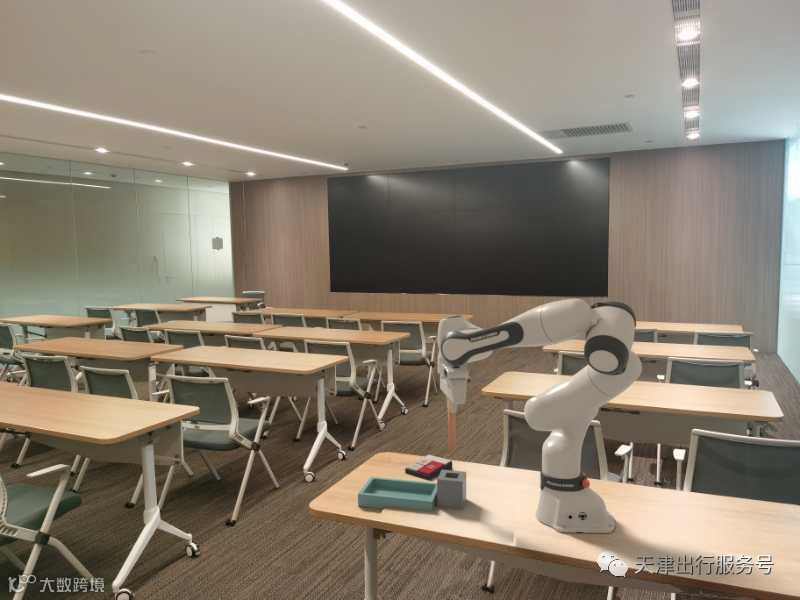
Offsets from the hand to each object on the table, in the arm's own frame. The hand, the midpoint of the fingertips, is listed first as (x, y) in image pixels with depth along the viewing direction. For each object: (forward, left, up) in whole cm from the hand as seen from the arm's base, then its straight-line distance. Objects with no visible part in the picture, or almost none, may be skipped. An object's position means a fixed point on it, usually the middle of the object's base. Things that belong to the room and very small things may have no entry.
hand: (451, 411), depth 172 cm
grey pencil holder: (0, 0, -31) cm, 31 cm away
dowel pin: (0, 0, -12) cm, 12 cm away
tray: (+17, 0, -31) cm, 35 cm away
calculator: (+12, -25, -31) cm, 42 cm away
